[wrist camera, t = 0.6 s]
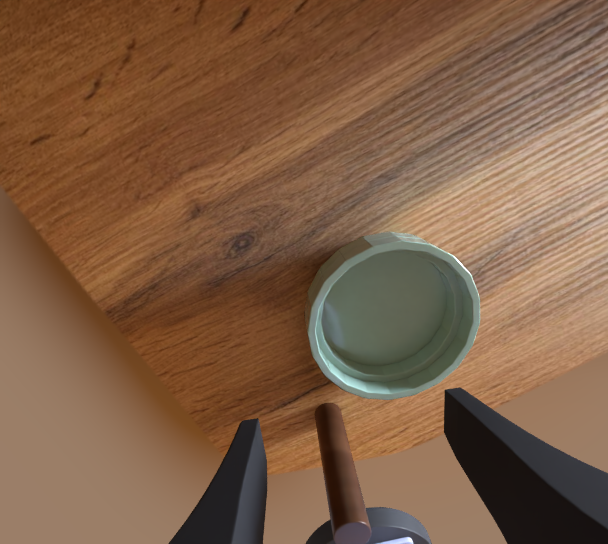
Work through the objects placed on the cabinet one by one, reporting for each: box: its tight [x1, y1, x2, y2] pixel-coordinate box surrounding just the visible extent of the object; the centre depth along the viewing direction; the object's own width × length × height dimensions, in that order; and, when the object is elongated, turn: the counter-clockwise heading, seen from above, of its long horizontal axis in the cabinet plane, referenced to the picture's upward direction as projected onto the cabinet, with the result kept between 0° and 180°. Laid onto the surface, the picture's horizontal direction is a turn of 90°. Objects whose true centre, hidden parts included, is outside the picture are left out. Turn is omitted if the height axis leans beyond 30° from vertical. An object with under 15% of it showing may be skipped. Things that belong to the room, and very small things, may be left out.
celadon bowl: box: [304, 232, 480, 400], centre depth 22 cm, size 11×11×3 cm
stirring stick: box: [315, 403, 371, 544], centre depth 22 cm, size 2×2×9 cm
